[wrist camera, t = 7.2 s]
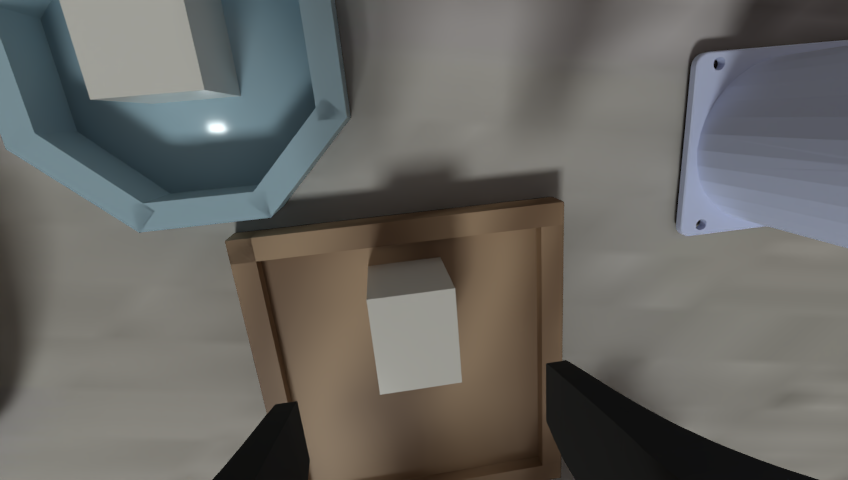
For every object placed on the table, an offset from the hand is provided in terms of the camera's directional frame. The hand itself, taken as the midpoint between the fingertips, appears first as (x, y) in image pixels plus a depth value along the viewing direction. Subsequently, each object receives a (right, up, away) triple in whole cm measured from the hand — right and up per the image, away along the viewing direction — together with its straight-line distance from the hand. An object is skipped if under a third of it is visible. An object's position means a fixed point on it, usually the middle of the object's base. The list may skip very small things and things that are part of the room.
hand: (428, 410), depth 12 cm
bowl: (-9, +11, +4) cm, 15 cm away
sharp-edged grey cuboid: (-1, +2, +7) cm, 7 cm away
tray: (-1, -1, +8) cm, 9 cm away
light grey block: (-9, +12, +3) cm, 15 cm away
